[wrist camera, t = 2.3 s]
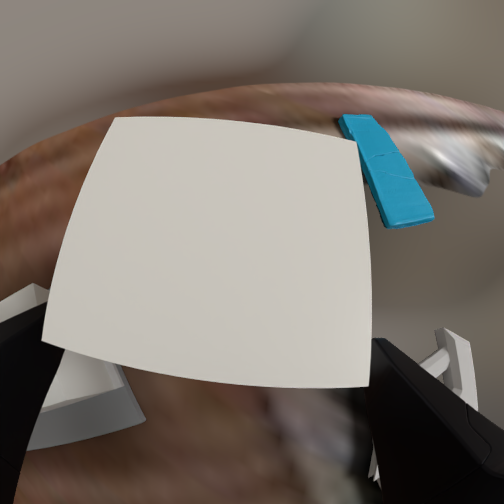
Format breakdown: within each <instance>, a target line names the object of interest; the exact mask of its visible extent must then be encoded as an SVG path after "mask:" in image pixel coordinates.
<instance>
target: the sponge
mask: <svg viewBox="0 0 504 504" xmlns="http://www.w3.org/2000/svg"><path fill="white" fill-rule="evenodd" d="M338 123H339V124H340V127H341V130H342V132H343V134H344V136H345V137H346V139H347V140H351V141H355V142H356V143H357V148H358V154H359V160H360V165H361V168H362V170H363V173H364V174H365V177H366V180H367V182H368V185H369V188H370V190H371V194H372V196H373V198H374V201H375V202H376V206H377V209H378V211H379V214H380V218H381V221H382V223H383V225H384V227H385V228H387V229H392V228H393V229H398V228H399V229H401V228H404V227H411V226H417V225H419V224H423V223H428V222H430V221H432V220H433V219H434V214H433V213H434V212H433V210H432V207H431V205H430V204H429V202H428V200H427V198H425V196H424V194H423V191H422V190H421V188H420V186H419V185H418V183H417V181H416V180H415V179H414V175H413V173H412V171H411V169H410V168H409V166H408V164H407V162H406V160H405V158H403V156H402V154H401V153H400V152H399V150H398V149H397V147H396V145H395V144H394V143H393V141H392V140H391V138H390V136H389V134H388V133H387V132H386V131H385V130H384V129H383V128H382V127H381V126H380V125H379V124H378V123H377V122H376V121H375V119H374V118H373V117H372V116H371V115H363V114H362V115H361V114H360V115H352V114H351V115H348V114H343V115H342V116H341V117H340V118H339V121H338Z"/></svg>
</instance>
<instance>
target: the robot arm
mask: <svg viewBox="0 0 504 504" xmlns="http://www.w3.org/2000/svg"><path fill="white" fill-rule="evenodd" d="M47 303H48V301H46V302H44V303H42V304H40V305H37V306H35V307H33V308H31V309H29V310H26V311H24V312H22V313H20V314H18V315H15V316H13V317H11V318H9V319H7V320H5V321H2V322H0V504H13V501H14V496H15V492H16V487H17V483H18V479H19V475H20V471H21V467H22V464H23V460H24V457H25V454H26V450H27V447H28V444H29V441H30V438H31V435H32V432H33V429H34V427H35V424H36V421H37V418H38V416H39V413H40V411H41V408H42V406H43V403H44V401H45V398H46V396H47V393H48V391H49V389H50V386H51V384H52V382H53V380H54V377H55V375H56V373H57V370H58V368H59V365H60V363H61V360H62V357H63V354H64V352H65V349H64V348H61V347H58V346H55V345H52V344H49V343H47V342H44V341H42V333H43V327H44V320H45V314H46V309H47ZM364 396H365V404H366V410H367V415H368V420H369V424H370V429H371V434H372V439H373V444H374V449H375V455H376V460H377V466H378V472H379V478H380V484H381V491H382V498H383V504H504V430H503V429H501V428H500V427H498V426H497V425H495V424H494V423H493V422H491V421H490V420H488V419H487V418H485V417H484V416H483V415H482V414H480V413H479V412H478V411H476V410H475V409H474V408H473V407H471V406H470V405H469V404H468V403H466V402H465V401H464V400H463V399H461V398H460V397H459V396H458V395H456V394H455V393H454V392H453V391H451V390H450V389H449V388H448V387H446V386H445V385H444V384H442V383H441V382H440V381H439V380H437V379H436V378H435V377H434V376H433V375H431V374H430V373H429V372H427V371H426V370H425V369H424V368H422V367H421V366H420V365H419V364H417V363H416V362H415V361H413V360H412V359H411V358H410V357H408V356H407V355H406V354H405V353H403V352H402V351H400V350H399V349H398V348H397V347H396V346H394V345H393V344H392V343H390V342H389V341H388V340H386V339H385V338H373V339H371V359H370V375H369V386H367V387H364Z"/></svg>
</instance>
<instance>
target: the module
mask: <svg viewBox="0 0 504 504" xmlns="http://www.w3.org/2000/svg"><path fill="white" fill-rule="evenodd" d="M371 331H372V289H371V263H370V247H369V234H368V222H367V212H366V203H365V195H364V187H363V180H362V173H361V166H360V160H359V154H358V148H357V143H356V142H355V141H351V140H347V139H342V138H338V137H333V136H329V135H324V134H319V133H314V132H309V131H303V130H297V129H292V128H285V127H279V126H272V125H265V124H257V123H249V122H240V121H230V120H218V119H205V118H186V117H118V118H115V119H114V121H113V123H112V125H111V126H110V128H109V130H108V132H107V134H106V136H105V138H104V140H103V142H102V144H101V146H100V148H99V150H98V152H97V154H96V156H95V159H94V161H93V163H92V165H91V167H90V170H89V172H88V174H87V177H86V179H85V181H84V184H83V186H82V189H81V191H80V194H79V196H78V199H77V201H76V204H75V207H74V210H73V212H72V215H71V218H70V221H69V224H68V227H67V230H66V233H65V236H64V239H63V243H62V246H61V249H60V253H59V257H58V260H57V264H56V268H55V272H54V276H53V280H52V284H51V289H50V293H49V298H48V303H47V309H46V314H45V320H44V327H43V333H42V341H44V342H47V343H49V344H52V345H55V346H58V347H61V348H64V349H67V350H70V351H73V352H76V353H80V354H83V355H86V356H90V357H93V358H97V359H100V360H104V361H108V362H112V363H116V364H120V365H124V366H128V367H132V368H137V369H141V370H146V371H151V372H156V373H161V374H167V375H172V376H178V377H184V378H191V379H197V380H205V381H212V382H220V383H230V384H240V385H251V386H266V387H286V388H347V387H367V386H369V375H370V359H371Z"/></svg>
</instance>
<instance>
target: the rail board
mask: <svg viewBox="0 0 504 504" xmlns="http://www.w3.org/2000/svg"><path fill="white" fill-rule="evenodd" d="M50 289H51V288H49V289H45V288H42V287H40V286H38V285H36V284H34V283H32V284H30V285H28V286H27V287H25V288H23V289H21V290H20V291H18V292H16V293H14V294H13V295H11V296H9V297H7V298H6V299H4V300H2V301H1V302H0V322H2V321H5V320H7V319H9V318H11V317H13V316H15V315H18V314H20V313H22V312H24V311H26V310H29V309H31V308H33V307H35V306H37V305H40V304H42V303H44V302H46V301H48V298H49V293H50ZM144 421H146V418H145V416H144V414H143V413H142V411H141V409H140V407H139V405H138V403H137V401H136V398H135V396H134V394H133V392H132V390H131V388H130V386H129V383H128V381H127V379H126V377H125V374H124V372H123V370H122V367H121V365H120V364H116V363H112V362H108V361H104V360H100V359H97V358H93V357H90V356H86V355H83V354H80V353H76V352H73V351H70V350H67V349H65V352H64V354H63V357H62V360H61V363H60V365H59V368H58V370H57V373H56V375H55V377H54V380H53V382H52V384H51V386H50V389H49V391H48V393H47V396H46V398H45V401H44V403H43V406H42V408H41V411H40V413H39V416H38V418H37V421H36V424H35V427H34V429H33V432H32V435H31V438H30V441H29V444H28V447H27V450H26V451H29V450H35V449H41V448H47V447H52V446H57V445H62V444H67V443H72V442H76V441H80V440H84V439H88V438H92V437H96V436H100V435H104V434H107V433H111V432H114V431H118V430H121V429H124V428H128V427H131V426H134V425H137V424H140V423H143V422H144Z"/></svg>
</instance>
